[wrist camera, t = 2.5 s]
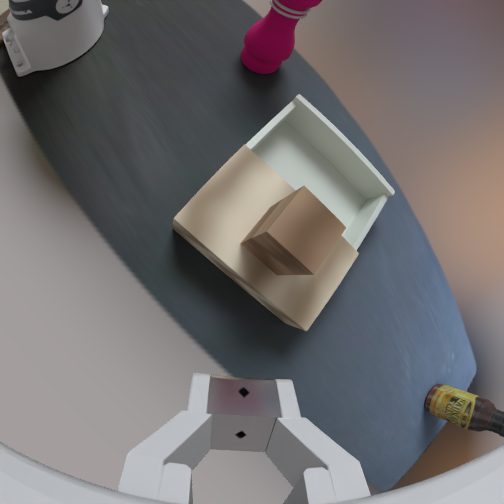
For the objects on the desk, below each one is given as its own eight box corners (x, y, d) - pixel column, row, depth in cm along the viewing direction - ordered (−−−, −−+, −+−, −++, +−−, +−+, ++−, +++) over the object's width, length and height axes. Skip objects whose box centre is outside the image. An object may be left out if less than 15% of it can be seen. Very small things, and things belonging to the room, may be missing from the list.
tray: (232, 163, 36) (244, 144, 30) (281, 115, 39) (299, 93, 33) (332, 256, 39) (359, 253, 33) (369, 200, 42) (395, 191, 36)
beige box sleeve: (172, 228, 33) (173, 218, 28) (232, 163, 36) (244, 144, 30) (285, 323, 36) (306, 331, 31) (332, 256, 39) (359, 253, 33)
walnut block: (240, 243, 29) (266, 231, 22) (270, 206, 31) (304, 185, 23) (277, 275, 30) (314, 274, 23) (304, 238, 31) (346, 227, 24)
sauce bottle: (426, 386, 43) (511, 411, 24) (444, 379, 45) (523, 399, 26) (420, 416, 43) (498, 448, 24) (438, 408, 44) (513, 433, 25)
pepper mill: (274, 83, 39) (339, -9, 20) (230, 65, 37) (275, -38, 18) (286, 56, 40) (345, -28, 21) (246, 39, 38) (291, -53, 19)
